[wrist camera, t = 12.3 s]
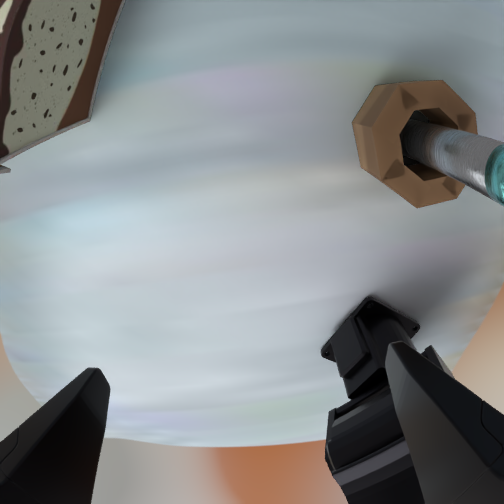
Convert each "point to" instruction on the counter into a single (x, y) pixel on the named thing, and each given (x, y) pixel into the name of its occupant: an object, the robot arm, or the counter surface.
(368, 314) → the robot arm
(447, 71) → the counter surface
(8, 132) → the food container
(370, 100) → the brown octagonal ring
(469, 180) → the teal-capped metal tube
